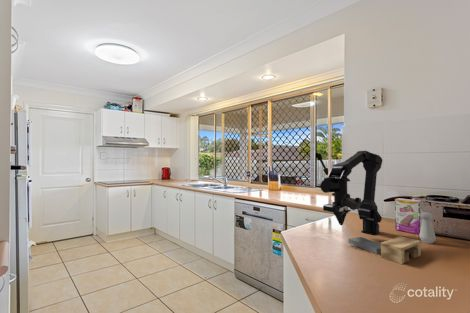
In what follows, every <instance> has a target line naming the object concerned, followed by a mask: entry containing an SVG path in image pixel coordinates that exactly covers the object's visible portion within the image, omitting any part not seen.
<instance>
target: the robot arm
mask: <svg viewBox="0 0 470 313" xmlns="http://www.w3.org/2000/svg"><path fill="white" fill-rule="evenodd" d="M361 163H362V168H363V169H364V172H365V179H364V187H363V188H364V190H363V197H362V198H360V197H355V198H353V197H351V194H350V193H348V182H351V180H350V179H349V178H348V176H350V174H351V173H352V172H353V171H352V170H353V169H354V168H355V167H357V166H358V165H360V164H361ZM382 165H383V158H382V157H381V156H380V155H379V154H377V153H372V152H370V151H367V150H357V152H355V153H354V154H353V155H352V156H350V157H348V158H347V159H346V160H345V161H342V162H339V163H335V164H333V165H332V166H331V168H330V171H329V173H328V175H327V177H323V179H322V181H321V183H320V185H319V186H320V190H321V191H322V192H323V193H325V194H326V193H332V194H331V196H333V198H334V199H333V200H334V201H333V202H332V203H326V204H324V205H323V206H322V210H323V212H324V211H325V212H329V213H333V215H334V217H335V219H336V220H337V222H338V224H339V225H340V226H343V225H344V224H345V223H344V222H345V220H346V217H347V214H348V213H350V212H352V211H355V210H357V214H358V217H359V220H362V230H361V231H360V232H361V233H365V234H369V235H373V236H374V235H377V234H381V232H380V224H379V223H381V222H382V219H383V218H382V216H381V214H380V213H379V212H378V205H377V203H376V201H375V196H376V186H377V185H376V184H377V178H378V177H377V175H378V172H379V171H380V169H381V168H382Z"/></svg>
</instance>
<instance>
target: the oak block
mask: <svg viewBox="0 0 470 313" xmlns="http://www.w3.org/2000/svg"><path fill="white" fill-rule="evenodd" d="M380 244H381V253H380V258H381V259H384V260H387V261H389V262H390V261H391V262H394V263H396V264H400V265H403V264H406V263H407V262H409V261H410V258H412V259H416V258H418V257H421V240H418V239H414V238H409V237H404V236H401V235H400V236H397V237H394V238H391V239H388V240H385V241H382V242H380Z"/></svg>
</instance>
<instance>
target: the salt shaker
mask: <svg viewBox="0 0 470 313" xmlns="http://www.w3.org/2000/svg"><path fill="white" fill-rule="evenodd" d="M421 218H423V219H422V224H421V229H420V235H418V236H419V239H420V242H422V243H424V244H428V245H429V244H434V243H435V241H436V239H437V238H436V234H435V230H434V225H433V224H434V223H433V221H432V219H434V215H433V213H430V212H425V211H423V213H421Z"/></svg>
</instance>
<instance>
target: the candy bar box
mask: <svg viewBox="0 0 470 313" xmlns="http://www.w3.org/2000/svg"><path fill="white" fill-rule="evenodd" d="M394 210H395V212H394V214H395V218H394V220H395V227H394V228H395V230H396V231H400V232H404V233H409V234H415V235H418V236H419V235H420V229H421V224H422V219H423V218H421V213H424V201H423V200H416V199H410V198H409V199H408V198H394Z"/></svg>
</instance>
